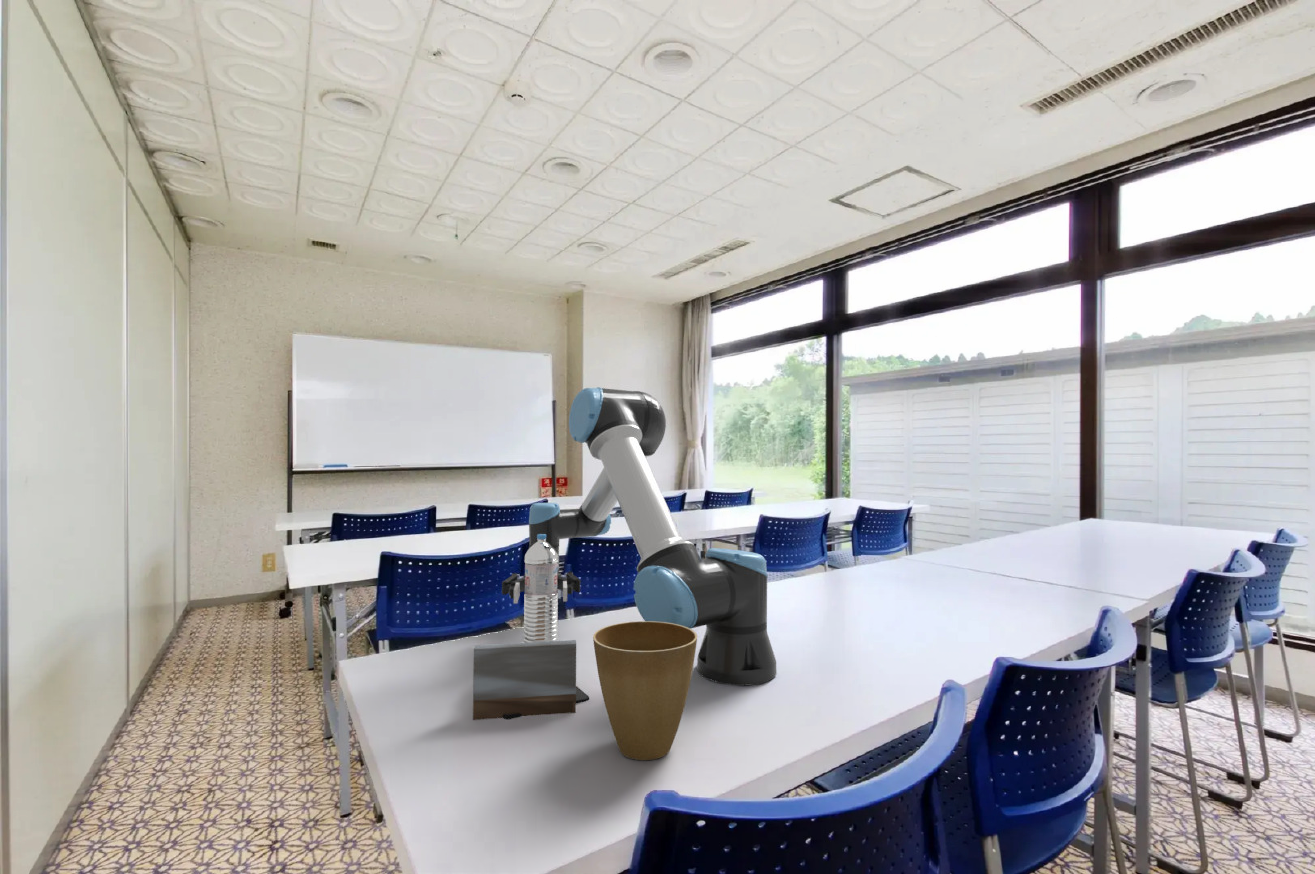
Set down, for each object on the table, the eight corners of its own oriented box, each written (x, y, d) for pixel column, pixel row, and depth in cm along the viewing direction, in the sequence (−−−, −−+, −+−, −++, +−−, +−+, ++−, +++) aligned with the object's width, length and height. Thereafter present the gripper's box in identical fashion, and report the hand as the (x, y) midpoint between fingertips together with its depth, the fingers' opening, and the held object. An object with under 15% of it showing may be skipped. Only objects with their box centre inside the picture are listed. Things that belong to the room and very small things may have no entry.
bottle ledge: (483, 685, 105) (484, 623, 106) (573, 679, 108) (573, 619, 108) (472, 720, 92) (473, 649, 92) (575, 712, 94) (576, 643, 95)
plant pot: (718, 753, 82) (718, 638, 82) (628, 788, 73) (629, 659, 73) (657, 714, 94) (657, 614, 94) (573, 740, 85) (574, 630, 86)
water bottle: (549, 663, 117) (550, 537, 117) (518, 660, 118) (519, 536, 119) (562, 651, 123) (563, 533, 124) (531, 649, 125) (533, 532, 125)
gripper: (588, 587, 140) (595, 612, 118) (495, 590, 137) (483, 617, 115) (589, 555, 141) (595, 574, 118) (495, 558, 137) (484, 578, 115)
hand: (540, 595), depth 116 cm, fingers open, 9 cm apart
